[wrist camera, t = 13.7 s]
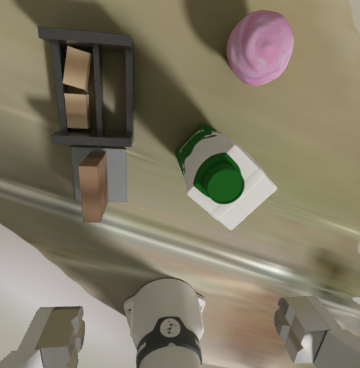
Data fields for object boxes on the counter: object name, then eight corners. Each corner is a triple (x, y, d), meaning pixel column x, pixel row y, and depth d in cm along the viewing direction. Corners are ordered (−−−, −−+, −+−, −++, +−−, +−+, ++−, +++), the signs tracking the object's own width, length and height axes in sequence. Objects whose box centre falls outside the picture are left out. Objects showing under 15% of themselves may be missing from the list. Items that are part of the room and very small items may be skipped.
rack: (133, 138, 42) (131, 146, 36) (65, 135, 40) (52, 143, 35) (133, 42, 37) (130, 35, 31) (55, 35, 35) (37, 26, 30)
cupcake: (205, 49, 38) (222, 38, 29) (250, 8, 37) (283, -17, 27) (236, 96, 41) (261, 99, 32) (279, 59, 40) (318, 52, 31)
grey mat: (126, 200, 46) (126, 201, 46) (76, 199, 45) (75, 201, 44) (126, 148, 42) (125, 149, 42) (71, 146, 41) (70, 147, 41)
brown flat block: (108, 199, 45) (100, 222, 38) (94, 199, 45) (83, 222, 37) (106, 152, 42) (97, 166, 34) (91, 151, 41) (78, 166, 34)
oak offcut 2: (91, 126, 41) (87, 128, 38) (72, 125, 40) (67, 127, 38) (89, 94, 39) (85, 94, 36) (69, 92, 38) (64, 93, 36)
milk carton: (202, 115, 42) (243, 140, 23) (235, 150, 45) (295, 196, 26) (167, 152, 44) (180, 202, 25) (202, 183, 47) (236, 248, 28)
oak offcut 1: (87, 89, 38) (84, 89, 36) (68, 83, 38) (62, 83, 36) (93, 55, 37) (89, 53, 34) (72, 48, 36) (67, 45, 34)
